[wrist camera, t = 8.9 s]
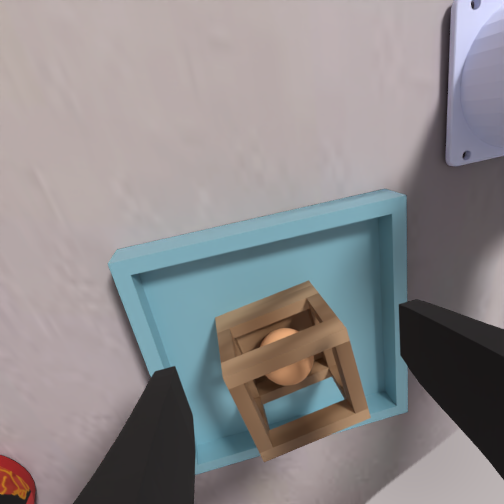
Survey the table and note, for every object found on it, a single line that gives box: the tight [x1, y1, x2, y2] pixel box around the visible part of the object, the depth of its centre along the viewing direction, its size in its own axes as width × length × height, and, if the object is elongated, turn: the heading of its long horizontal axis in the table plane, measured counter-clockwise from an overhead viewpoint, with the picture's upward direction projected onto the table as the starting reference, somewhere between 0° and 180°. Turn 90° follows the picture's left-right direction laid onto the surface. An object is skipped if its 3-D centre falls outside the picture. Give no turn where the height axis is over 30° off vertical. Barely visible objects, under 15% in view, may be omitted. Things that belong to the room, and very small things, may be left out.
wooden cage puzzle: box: [215, 280, 371, 462], centre depth 18 cm, size 6×6×5 cm
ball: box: [260, 328, 314, 386], centre depth 18 cm, size 3×3×3 cm
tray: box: [108, 189, 408, 475], centre depth 20 cm, size 15×15×2 cm
